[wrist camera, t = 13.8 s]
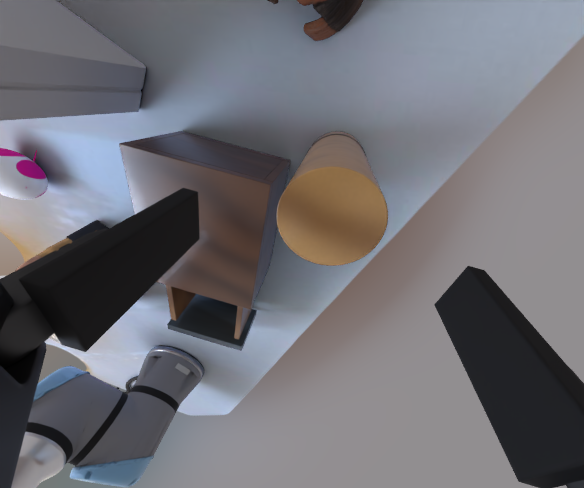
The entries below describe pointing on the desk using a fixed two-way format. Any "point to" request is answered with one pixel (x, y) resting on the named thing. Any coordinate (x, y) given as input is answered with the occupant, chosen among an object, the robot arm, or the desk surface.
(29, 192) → the stress ball
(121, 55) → the jerry can
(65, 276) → the robot arm
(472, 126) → the desk surface
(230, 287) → the cabinet
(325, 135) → the roller
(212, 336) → the drawer
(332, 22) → the pottery mug
